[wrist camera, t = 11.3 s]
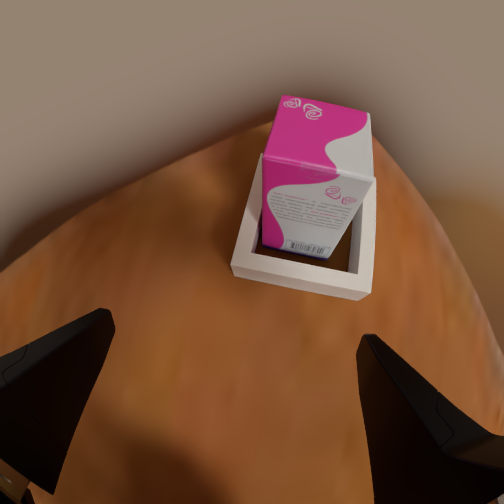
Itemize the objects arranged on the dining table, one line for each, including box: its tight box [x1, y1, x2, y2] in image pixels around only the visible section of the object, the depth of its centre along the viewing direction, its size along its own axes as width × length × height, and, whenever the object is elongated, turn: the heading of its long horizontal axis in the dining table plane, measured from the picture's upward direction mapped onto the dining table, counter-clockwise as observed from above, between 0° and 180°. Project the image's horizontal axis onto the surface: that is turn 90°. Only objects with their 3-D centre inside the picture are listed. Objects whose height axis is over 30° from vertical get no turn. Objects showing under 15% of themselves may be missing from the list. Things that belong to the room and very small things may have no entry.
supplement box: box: [262, 95, 374, 261], centre depth 19 cm, size 6×6×12 cm
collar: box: [231, 153, 376, 301], centre depth 22 cm, size 10×10×3 cm
